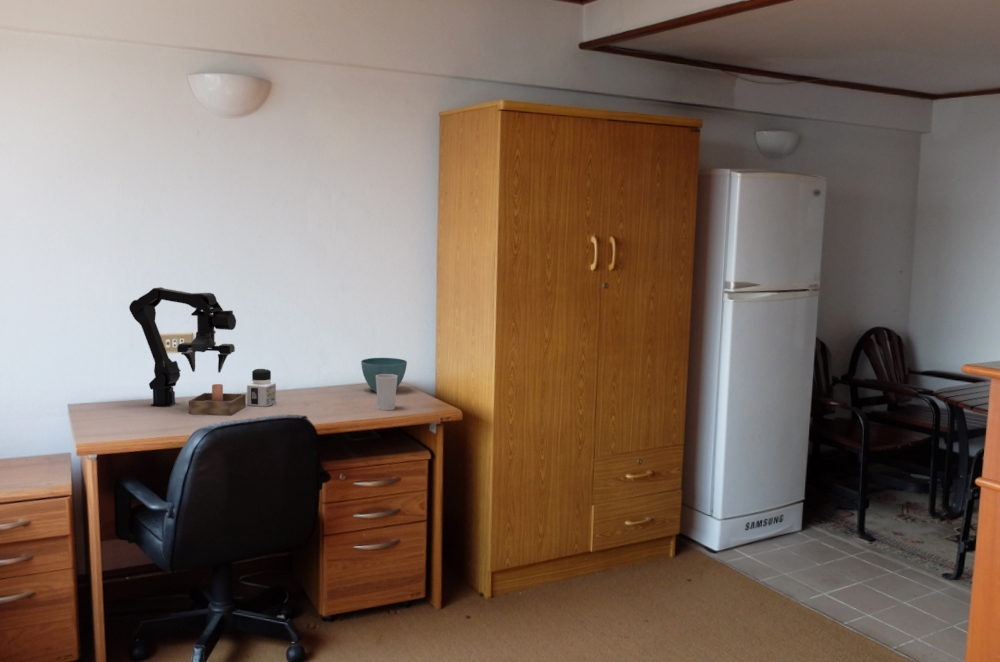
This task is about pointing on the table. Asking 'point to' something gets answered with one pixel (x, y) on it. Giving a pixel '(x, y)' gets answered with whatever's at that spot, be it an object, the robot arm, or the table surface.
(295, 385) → the table surface
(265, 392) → the container
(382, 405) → the cup
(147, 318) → the robot arm
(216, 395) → the peg
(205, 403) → the box
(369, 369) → the teal bowl
